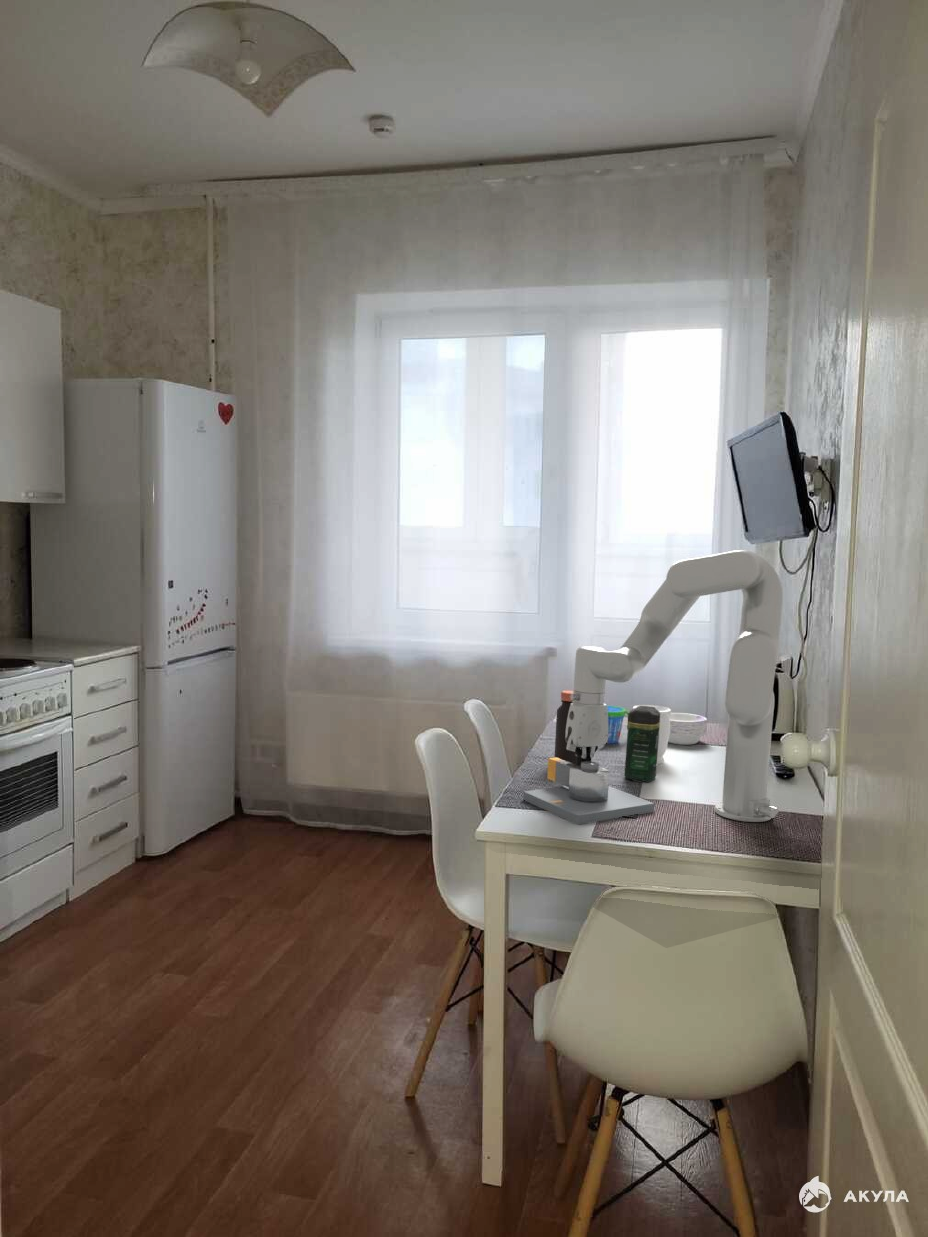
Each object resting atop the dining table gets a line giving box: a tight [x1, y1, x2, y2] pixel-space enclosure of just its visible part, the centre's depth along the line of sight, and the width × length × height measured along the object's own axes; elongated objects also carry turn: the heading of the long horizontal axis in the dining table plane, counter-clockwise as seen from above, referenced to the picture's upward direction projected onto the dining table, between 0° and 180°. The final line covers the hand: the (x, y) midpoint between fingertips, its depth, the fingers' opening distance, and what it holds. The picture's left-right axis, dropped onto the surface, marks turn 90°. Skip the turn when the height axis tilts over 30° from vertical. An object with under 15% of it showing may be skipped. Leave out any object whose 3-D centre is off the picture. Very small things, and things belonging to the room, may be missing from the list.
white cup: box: [632, 704, 672, 765], centre depth 260 cm, size 11×10×15 cm
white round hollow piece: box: [668, 712, 708, 746], centre depth 287 cm, size 15×15×8 cm
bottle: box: [553, 690, 578, 765], centre depth 250 cm, size 7×7×20 cm
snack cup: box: [607, 705, 630, 745], centre depth 283 cm, size 16×10×10 cm
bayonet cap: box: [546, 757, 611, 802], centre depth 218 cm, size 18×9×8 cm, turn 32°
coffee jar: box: [624, 706, 660, 783], centre depth 241 cm, size 10×8×19 cm
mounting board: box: [522, 785, 655, 826], centre depth 214 cm, size 20×22×2 cm
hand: (583, 772), depth 226 cm, fingers closed
